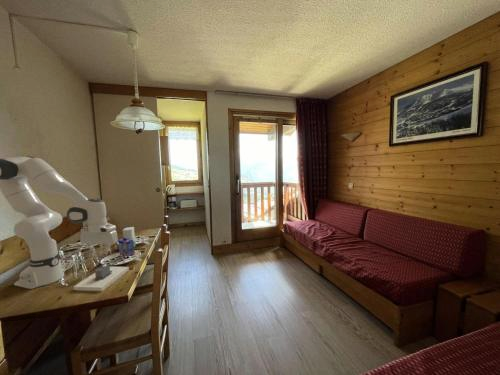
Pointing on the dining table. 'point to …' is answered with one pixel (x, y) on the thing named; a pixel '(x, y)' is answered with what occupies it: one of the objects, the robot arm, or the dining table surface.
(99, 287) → the pocket plate
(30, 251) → the robot arm
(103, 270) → the servo block
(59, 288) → the dining table surface
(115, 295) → the dining table surface
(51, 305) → the dining table surface
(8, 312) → the dining table surface
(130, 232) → the skincare box
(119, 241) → the ink cartridge box
